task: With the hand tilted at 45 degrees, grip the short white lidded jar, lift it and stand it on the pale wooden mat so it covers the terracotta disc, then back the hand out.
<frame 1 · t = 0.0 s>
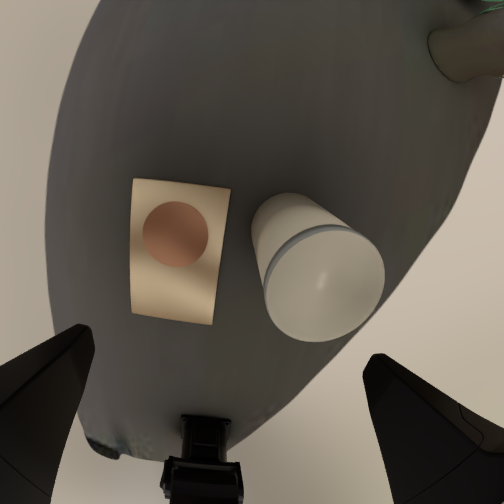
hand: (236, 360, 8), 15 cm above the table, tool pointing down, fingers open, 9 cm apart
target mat: (174, 256, 22), on the table
beer glass: (447, 56, 16), on the table
white lidded jar: (288, 229, 22), on the table
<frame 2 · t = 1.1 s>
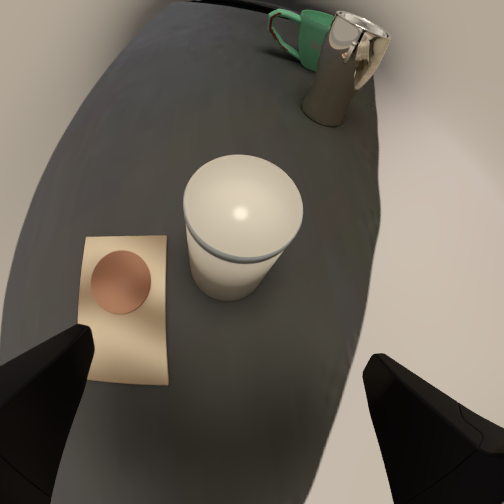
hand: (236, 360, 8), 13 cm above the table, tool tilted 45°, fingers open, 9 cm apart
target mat: (121, 307, 20), on the table
beer glass: (321, 113, 33), on the table
mug: (300, 62, 39), on the table
white lidded jar: (226, 265, 23), on the table
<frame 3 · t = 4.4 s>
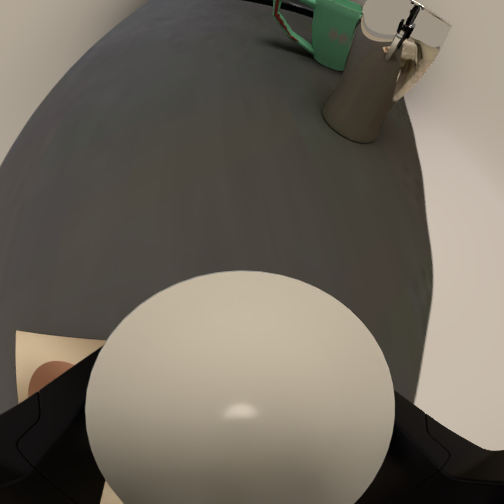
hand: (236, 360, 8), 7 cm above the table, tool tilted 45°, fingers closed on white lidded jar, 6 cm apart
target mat: (73, 437, 10), on the table
beer glass: (348, 123, 24), on the table
mug: (313, 57, 30), on the table
white lidded jar: (219, 387, 13), on the table, touching gripper
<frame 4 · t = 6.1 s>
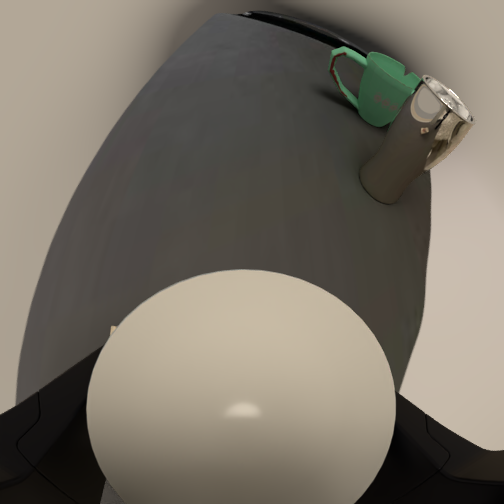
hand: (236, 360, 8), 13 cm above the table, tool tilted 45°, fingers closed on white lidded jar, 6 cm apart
beer glass: (378, 184, 30), on the table
mug: (357, 111, 36), on the table
white lidded jar: (219, 387, 13), point 7 cm above the table, touching gripper
when the fingers open (8 cm above the table, at t = 8.2 s): white lidded jar stays where it is, resting on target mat.
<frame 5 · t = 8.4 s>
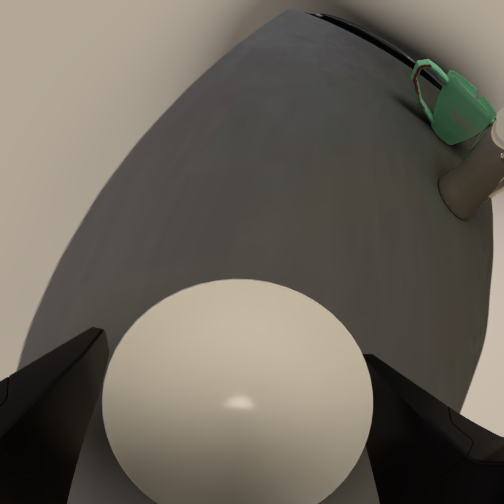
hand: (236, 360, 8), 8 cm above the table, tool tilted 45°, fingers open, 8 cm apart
beer glass: (453, 199, 26), on the table
mug: (430, 125, 32), on the table
white lidded jar: (218, 386, 14), point 1 cm above the table, touching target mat
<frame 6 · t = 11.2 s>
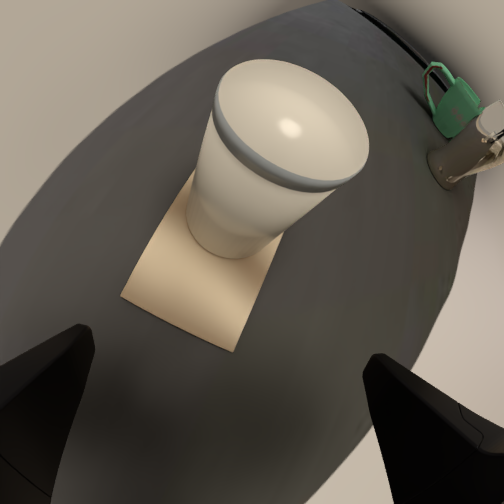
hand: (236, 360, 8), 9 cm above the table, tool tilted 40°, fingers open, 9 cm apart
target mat: (216, 242, 18), on the table
beer glass: (438, 171, 31), on the table
mug: (431, 117, 36), on the table
white lidded jar: (232, 214, 18), point 1 cm above the table, touching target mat
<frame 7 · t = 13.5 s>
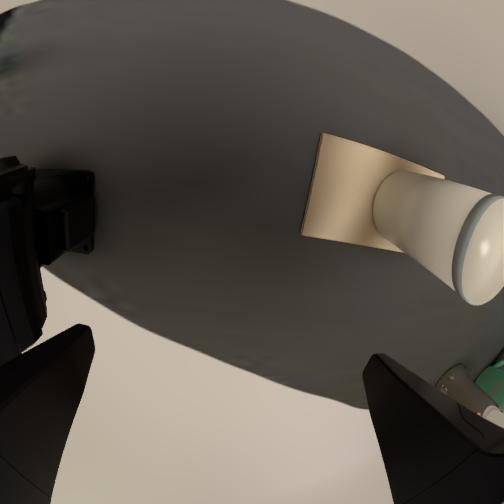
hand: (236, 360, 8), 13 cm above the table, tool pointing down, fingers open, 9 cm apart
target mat: (380, 200, 20), on the table
beer glass: (448, 377, 31), on the table
mug: (490, 365, 33), on the table
white lidded jar: (404, 207, 19), point 1 cm above the table, touching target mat
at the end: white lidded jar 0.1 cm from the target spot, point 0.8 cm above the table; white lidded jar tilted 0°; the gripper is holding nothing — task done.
